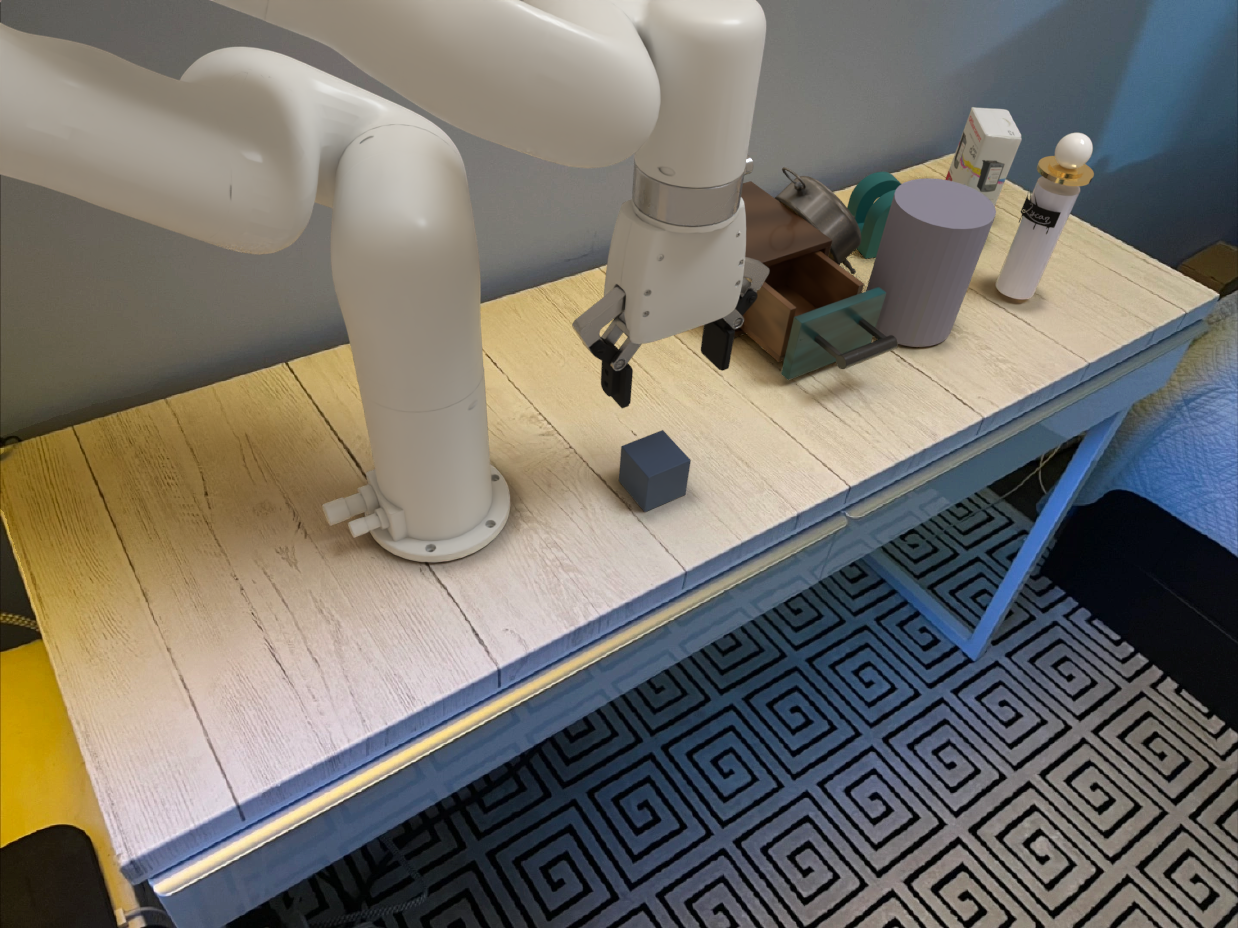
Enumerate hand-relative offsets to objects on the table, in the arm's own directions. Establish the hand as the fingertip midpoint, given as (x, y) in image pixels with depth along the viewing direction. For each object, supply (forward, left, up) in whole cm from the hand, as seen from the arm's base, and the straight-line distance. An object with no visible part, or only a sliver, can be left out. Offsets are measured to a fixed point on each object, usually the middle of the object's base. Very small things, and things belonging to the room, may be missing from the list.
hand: (666, 378), depth 75 cm
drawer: (+26, +10, -12) cm, 30 cm away
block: (0, 0, -13) cm, 13 cm away
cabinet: (+26, +22, -13) cm, 36 cm away
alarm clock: (+41, +22, -12) cm, 48 cm away
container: (+40, +8, -13) cm, 43 cm away
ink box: (+67, +24, -13) cm, 72 cm away
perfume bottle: (+56, +6, -13) cm, 58 cm away
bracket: (+54, +21, -13) cm, 60 cm away
